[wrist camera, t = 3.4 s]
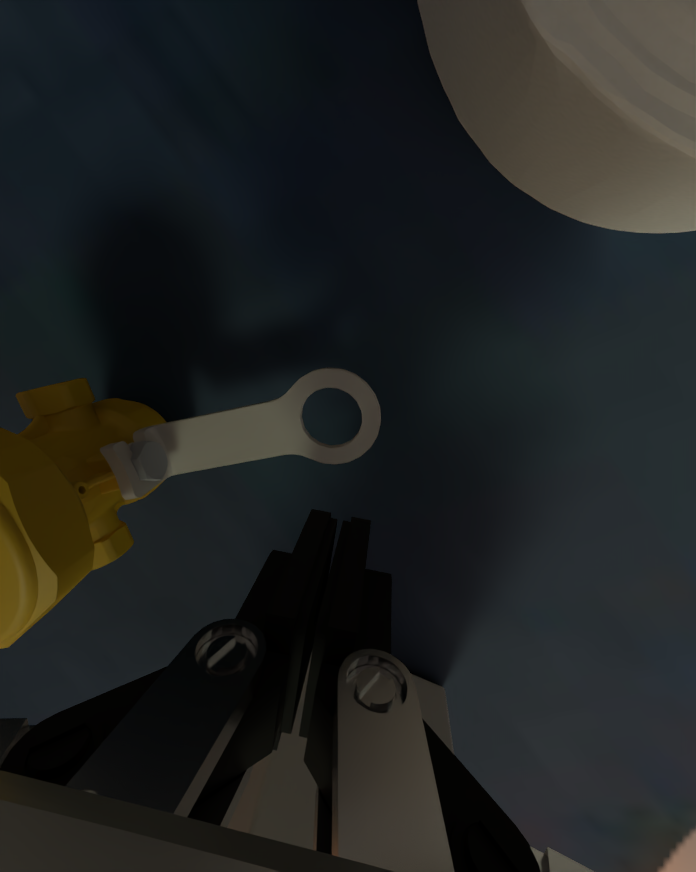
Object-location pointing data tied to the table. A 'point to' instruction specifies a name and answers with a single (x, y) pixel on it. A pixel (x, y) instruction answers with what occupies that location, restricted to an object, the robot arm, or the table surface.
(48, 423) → the pressure relief valve
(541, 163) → the roll of tape
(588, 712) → the table surface
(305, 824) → the milk carton
